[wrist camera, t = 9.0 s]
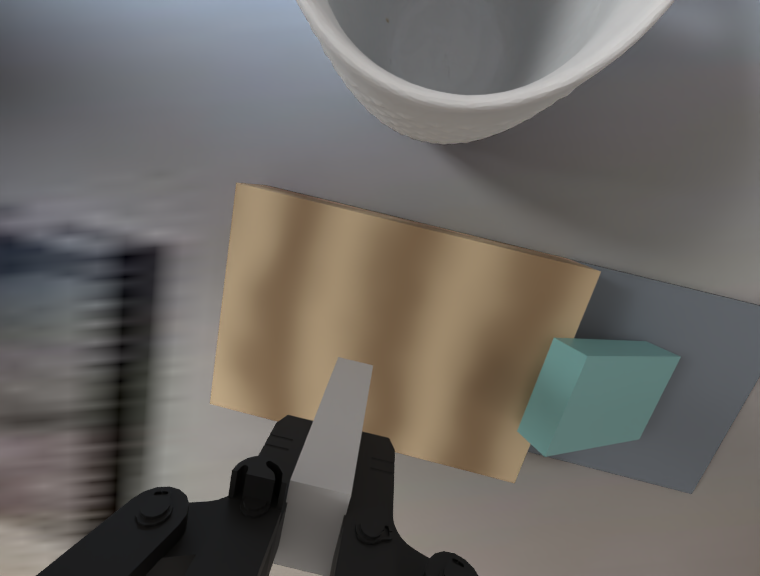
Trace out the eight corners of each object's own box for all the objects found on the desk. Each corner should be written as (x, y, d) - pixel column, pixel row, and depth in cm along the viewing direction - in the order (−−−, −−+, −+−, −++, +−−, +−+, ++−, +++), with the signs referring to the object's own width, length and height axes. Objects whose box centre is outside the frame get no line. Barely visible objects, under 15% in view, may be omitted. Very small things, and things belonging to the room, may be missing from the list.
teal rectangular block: (517, 431, 20) (544, 456, 19) (553, 337, 19) (587, 356, 17) (609, 419, 24) (639, 439, 23) (646, 341, 23) (681, 356, 21)
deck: (239, 373, 27) (209, 403, 23) (265, 185, 23) (236, 182, 19) (499, 440, 26) (514, 483, 22) (568, 258, 22) (601, 271, 19)
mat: (499, 440, 26) (500, 444, 26) (568, 258, 22) (571, 259, 22) (687, 489, 26) (691, 493, 25) (788, 312, 22) (795, 314, 22)
